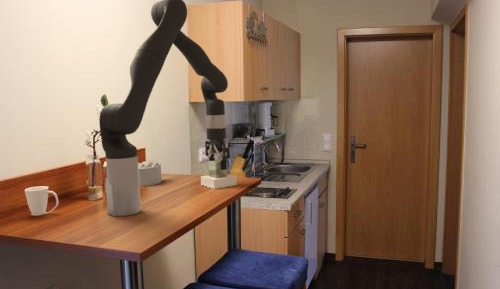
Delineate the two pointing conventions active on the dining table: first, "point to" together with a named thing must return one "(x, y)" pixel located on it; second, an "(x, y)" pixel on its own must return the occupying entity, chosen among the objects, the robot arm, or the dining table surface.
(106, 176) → the stack of blocks
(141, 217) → the dining table surface
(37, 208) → the cup
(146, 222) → the dining table surface
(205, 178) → the base block
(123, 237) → the dining table surface
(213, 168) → the sage block
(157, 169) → the lumpy-topped squat cylinder
